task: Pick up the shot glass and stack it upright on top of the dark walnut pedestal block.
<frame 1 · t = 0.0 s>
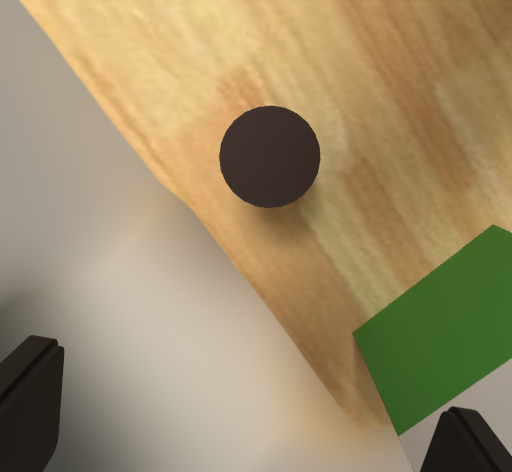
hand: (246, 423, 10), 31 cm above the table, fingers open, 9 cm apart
deodorant: (265, 143, 39), on the table
hardback book: (440, 304, 43), on the table
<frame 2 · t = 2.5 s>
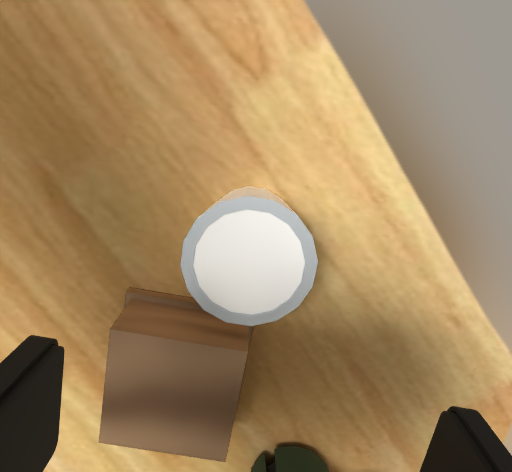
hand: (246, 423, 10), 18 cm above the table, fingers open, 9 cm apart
character mug: (289, 470, 33), on the table
pedestal: (184, 353, 30), on the table
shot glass: (250, 227, 27), on the table
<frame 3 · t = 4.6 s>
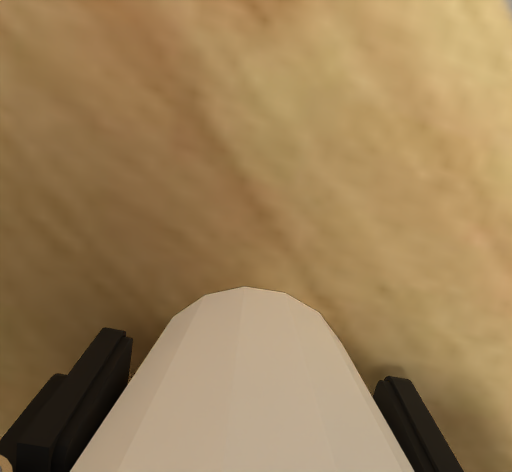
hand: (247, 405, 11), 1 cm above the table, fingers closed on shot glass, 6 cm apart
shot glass: (248, 373, 12), on the table, touching gripper
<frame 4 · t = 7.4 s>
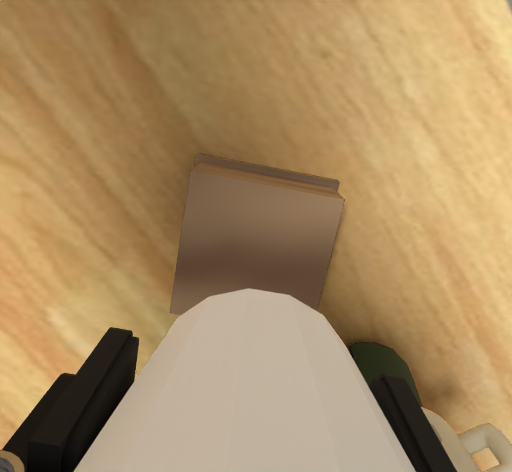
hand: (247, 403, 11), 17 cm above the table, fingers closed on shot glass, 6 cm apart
character mug: (362, 375, 30), on the table
pedestal: (254, 233, 27), on the table
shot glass: (252, 376, 12), point 15 cm above the table, touching gripper
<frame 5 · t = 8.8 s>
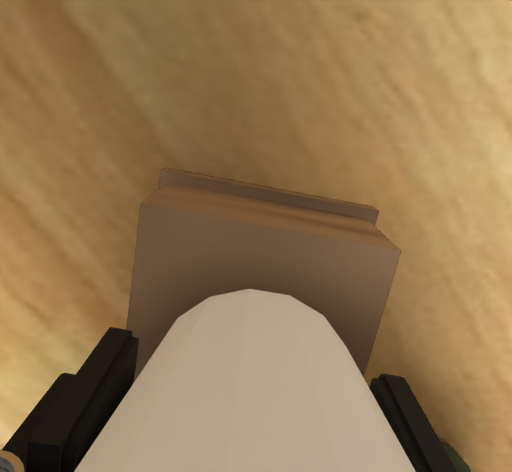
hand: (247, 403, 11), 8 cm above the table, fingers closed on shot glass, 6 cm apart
pedestal: (251, 284, 18), on the table
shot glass: (252, 376, 12), point 7 cm above the table, touching gripper
when the fingers open (7 cm above the table, at t = 10.0 s): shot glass stays where it is, resting on pedestal.
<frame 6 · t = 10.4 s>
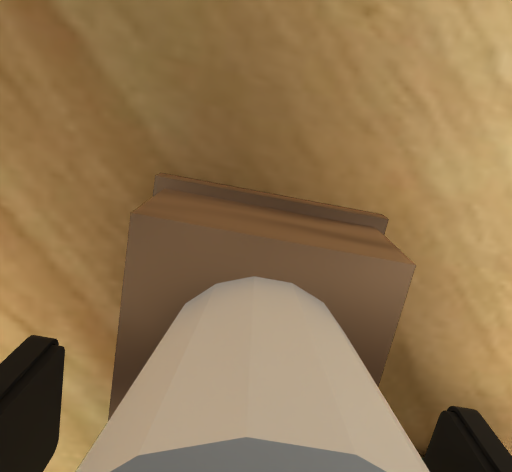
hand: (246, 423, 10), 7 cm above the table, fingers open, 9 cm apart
pedestal: (252, 296, 17), on the table
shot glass: (255, 360, 13), point 5 cm above the table, touching pedestal
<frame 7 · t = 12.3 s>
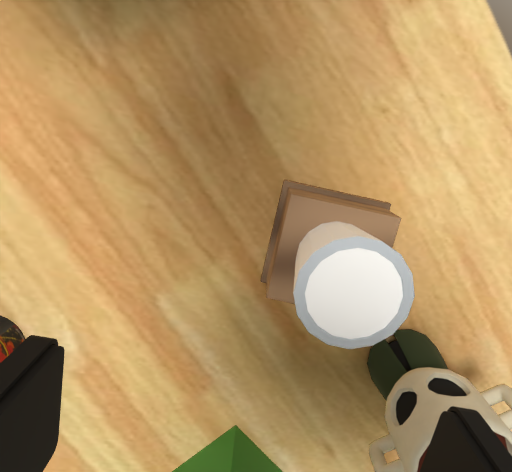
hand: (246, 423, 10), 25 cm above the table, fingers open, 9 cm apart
character mug: (399, 356, 38), on the table
pedestal: (322, 241, 35), on the table
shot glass: (334, 258, 30), point 5 cm above the table, touching pedestal
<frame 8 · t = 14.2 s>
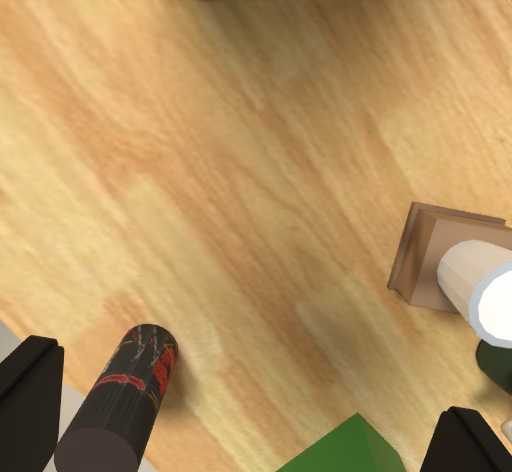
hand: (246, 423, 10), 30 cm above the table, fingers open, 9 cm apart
deodorant: (150, 348, 44), on the table
character mug: (503, 349, 44), on the table
pedestal: (442, 253, 41), on the table
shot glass: (468, 270, 36), point 5 cm above the table, touching pedestal
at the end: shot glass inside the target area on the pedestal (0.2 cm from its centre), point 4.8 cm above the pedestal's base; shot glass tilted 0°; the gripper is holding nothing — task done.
